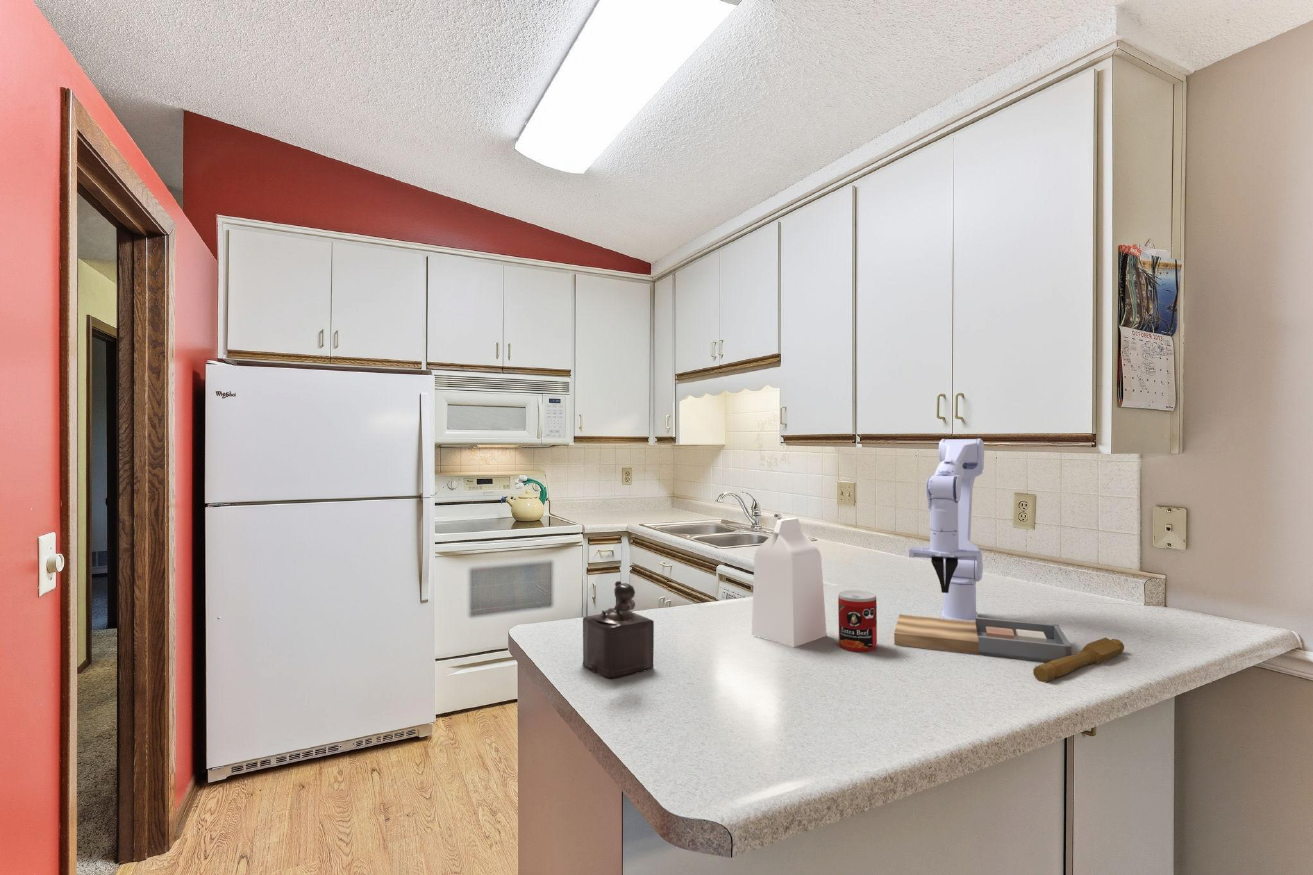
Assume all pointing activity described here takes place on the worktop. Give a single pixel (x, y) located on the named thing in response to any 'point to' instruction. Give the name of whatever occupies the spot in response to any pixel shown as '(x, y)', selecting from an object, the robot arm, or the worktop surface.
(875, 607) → the canned food
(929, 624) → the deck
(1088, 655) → the tap handle
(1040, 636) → the tile
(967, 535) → the robot arm
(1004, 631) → the tile
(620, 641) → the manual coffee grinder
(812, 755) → the worktop surface
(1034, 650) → the tray
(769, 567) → the milk
